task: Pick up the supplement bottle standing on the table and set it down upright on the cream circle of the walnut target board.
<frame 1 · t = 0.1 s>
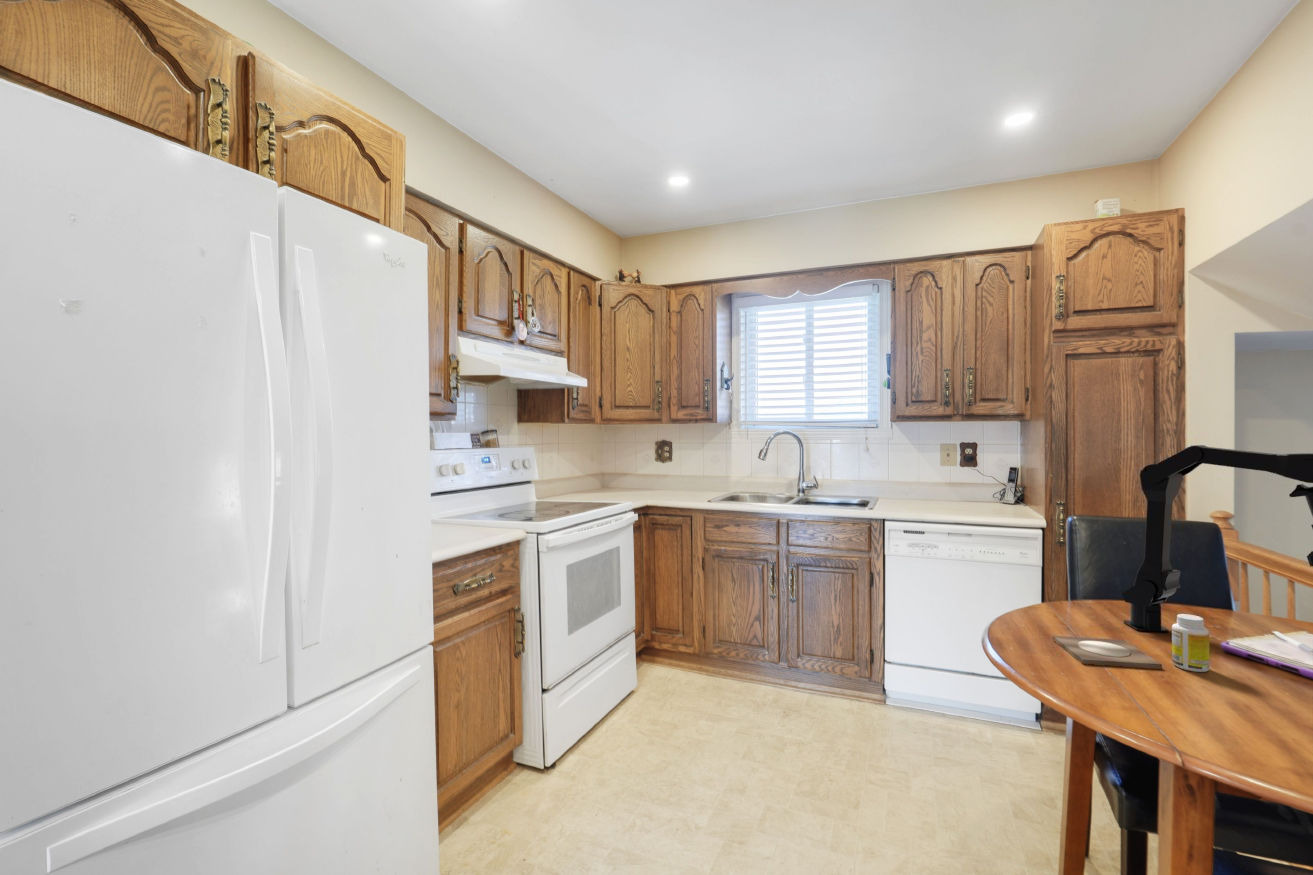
supplement bottle: (1190, 668, 118), on the table
target board: (1103, 653, 125), on the table
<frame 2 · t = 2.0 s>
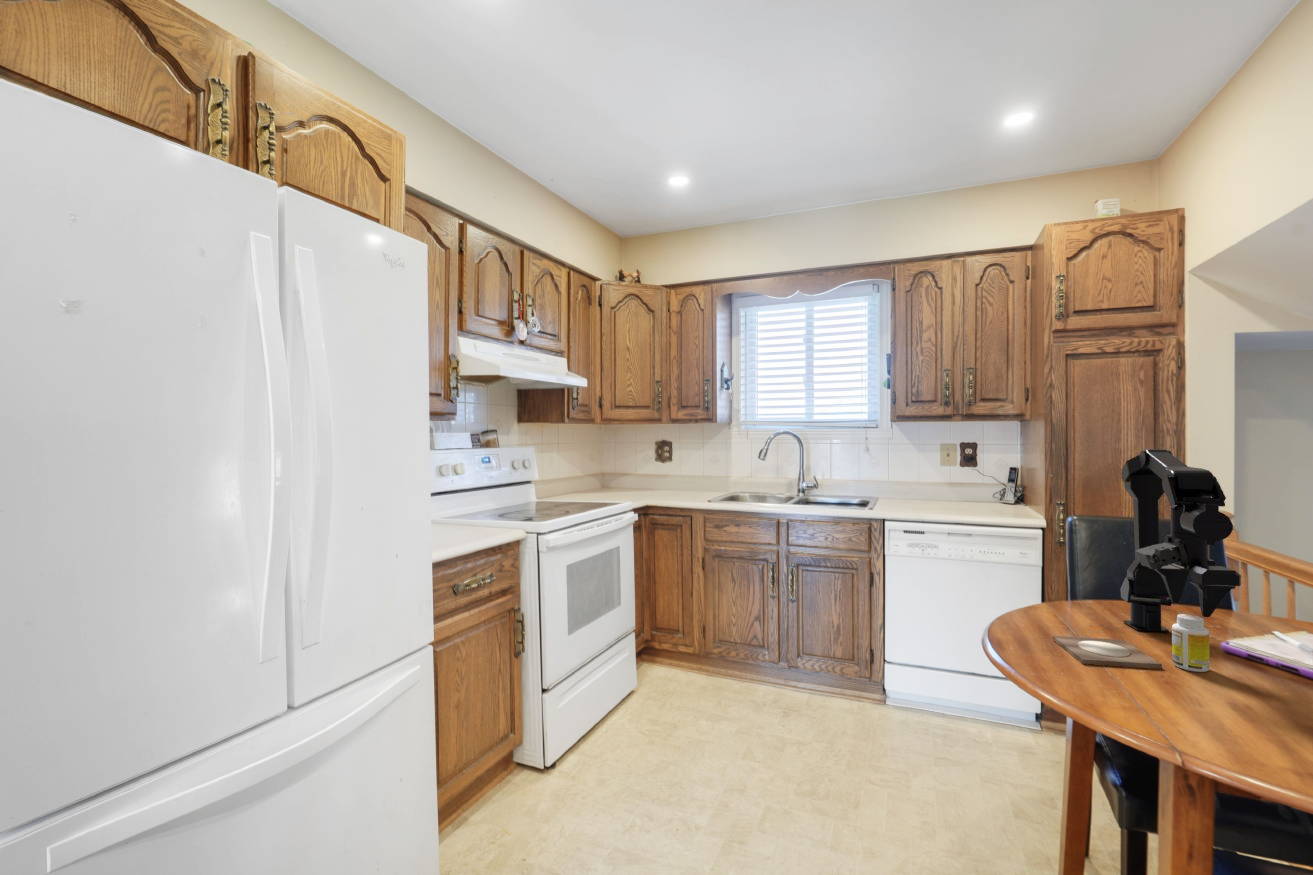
hand: (1190, 609, 117), 12 cm above the table, tool pointing down, fingers open, 9 cm apart
nothing on the table moved.
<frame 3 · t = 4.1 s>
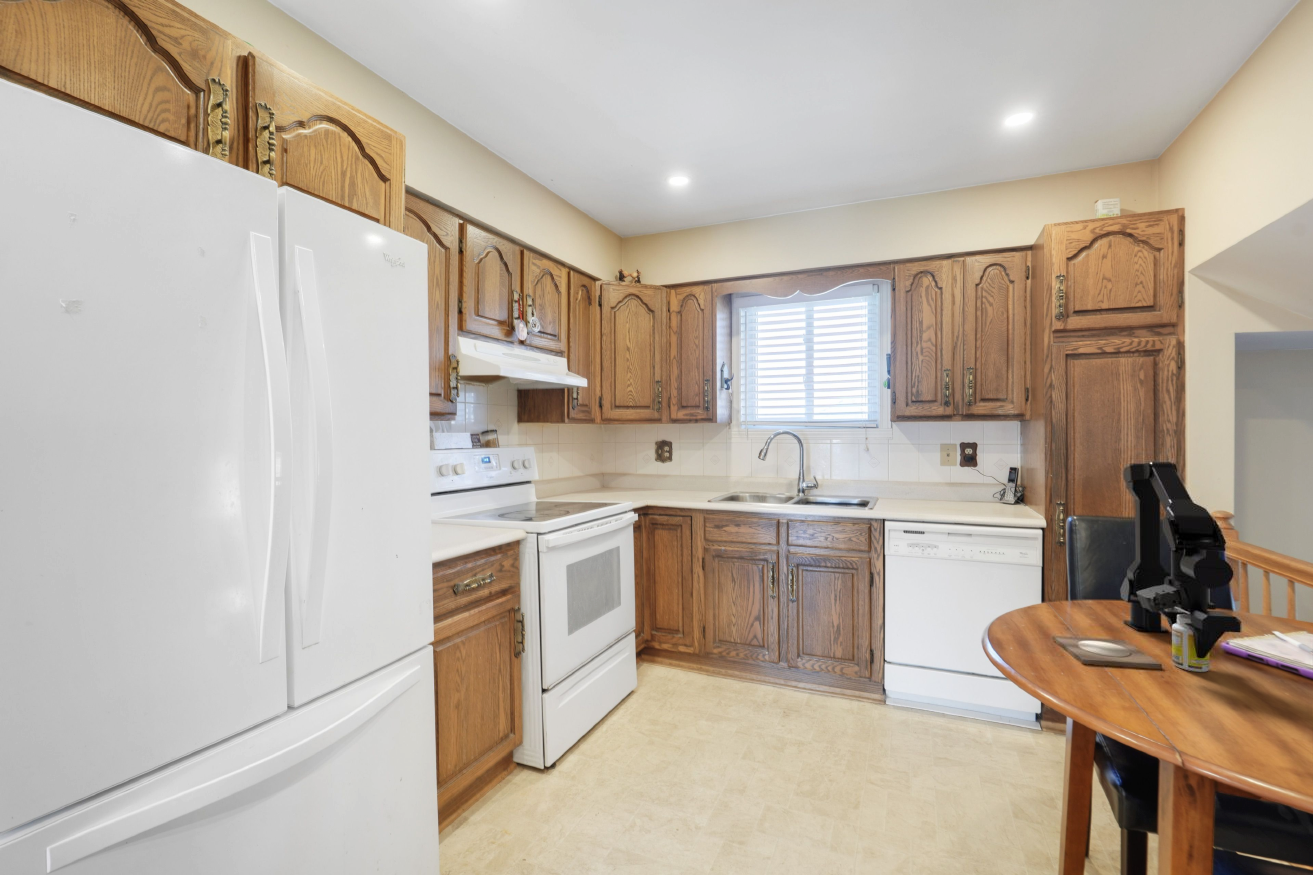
hand: (1190, 652, 117), 3 cm above the table, tool pointing down, fingers closed on supplement bottle, 6 cm apart
supplement bottle: (1190, 668, 118), on the table, touching gripper
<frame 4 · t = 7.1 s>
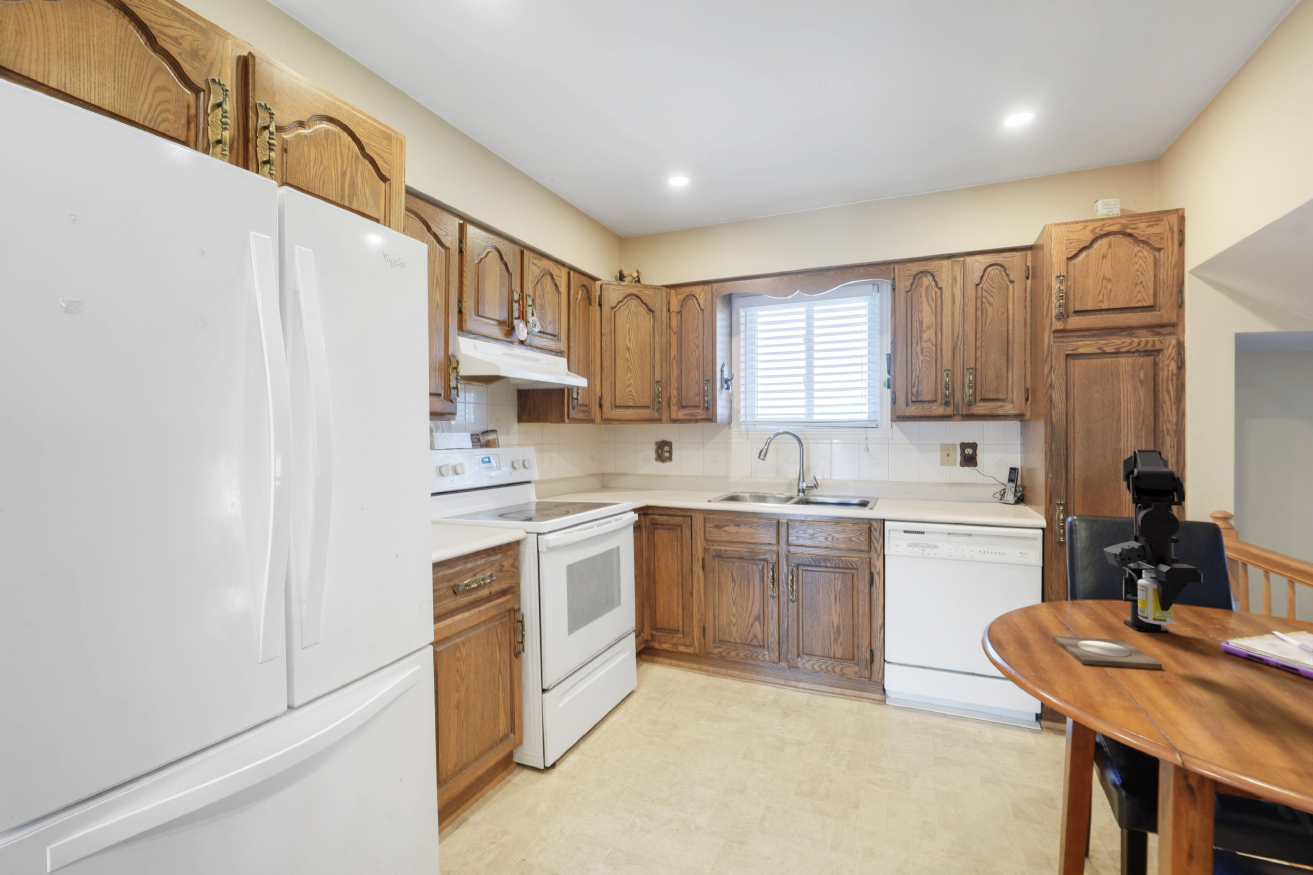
hand: (1155, 606, 120), 11 cm above the table, tool pointing down, fingers closed on supplement bottle, 6 cm apart
supplement bottle: (1155, 621, 120), point 8 cm above the table, touching gripper
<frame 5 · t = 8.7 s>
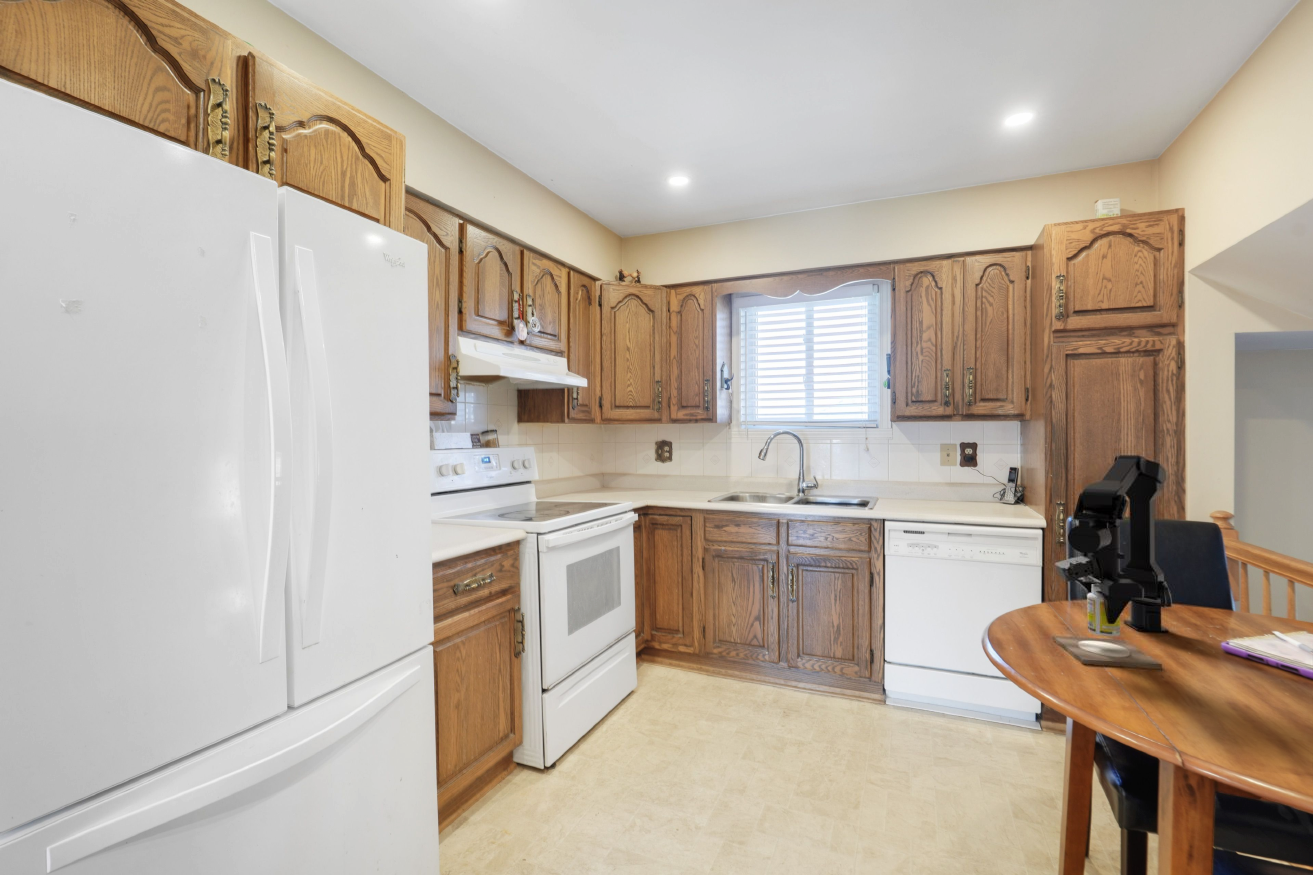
hand: (1103, 619, 125), 7 cm above the table, tool pointing down, fingers closed on supplement bottle, 6 cm apart
supplement bottle: (1103, 634, 125), point 4 cm above the table, touching gripper
when the fingers open (5 cm above the table, at t = 10.0 s): supplement bottle drops 1 cm, resting on target board.
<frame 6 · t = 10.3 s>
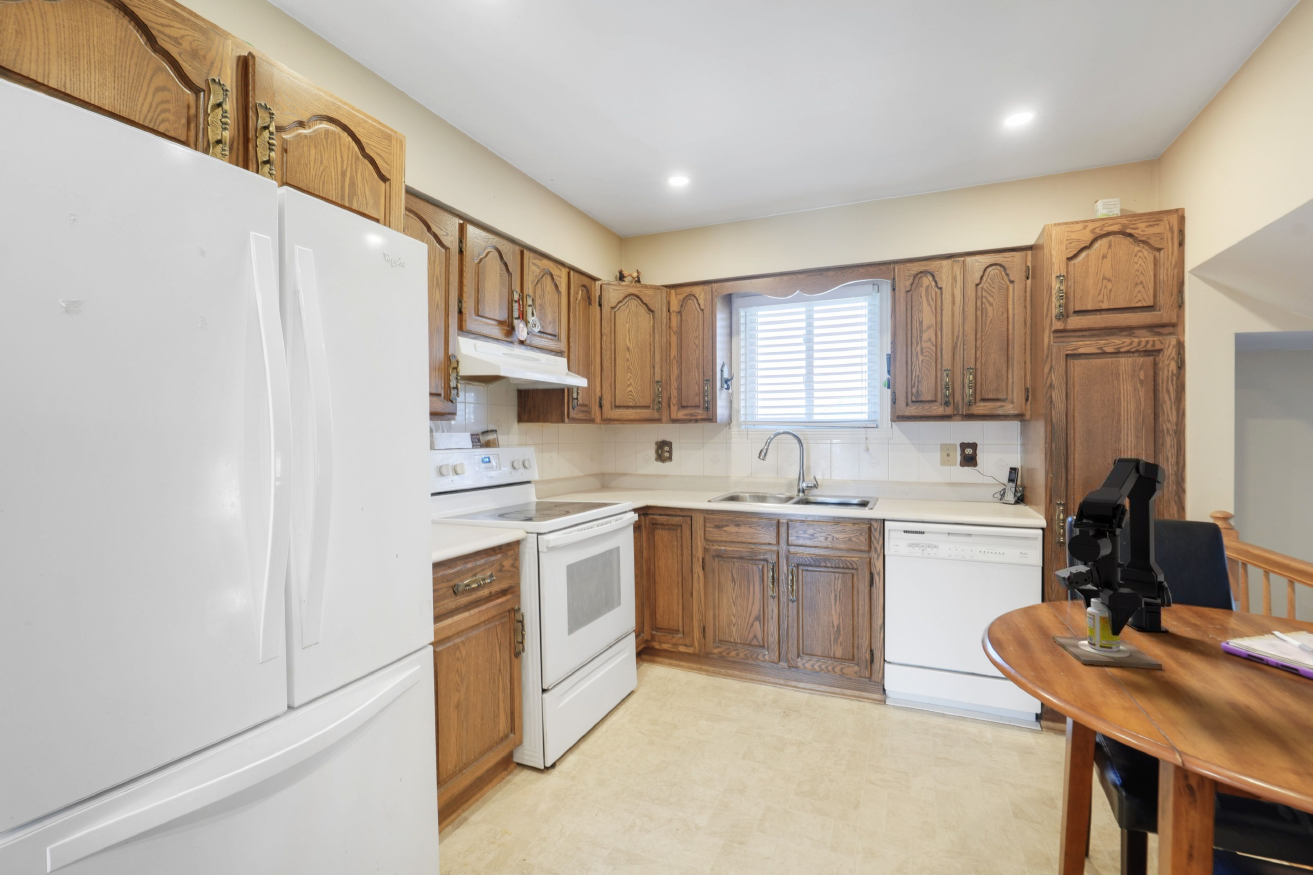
hand: (1103, 628, 125), 5 cm above the table, tool pointing down, fingers open, 9 cm apart
supplement bottle: (1103, 648, 125), point 1 cm above the table, touching target board
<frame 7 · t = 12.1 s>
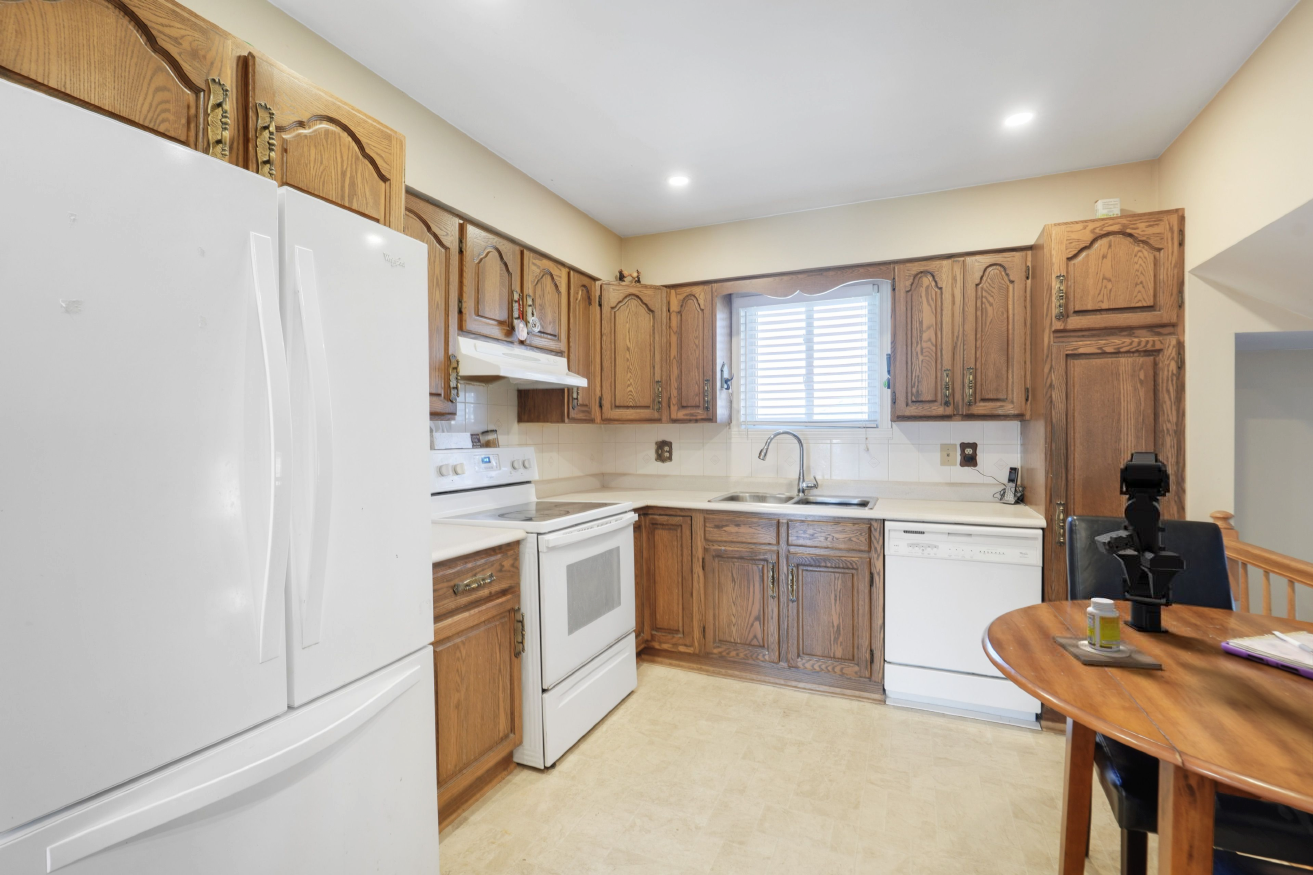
hand: (1143, 591, 127), 13 cm above the table, tool pointing down, fingers open, 9 cm apart
nothing on the table moved.
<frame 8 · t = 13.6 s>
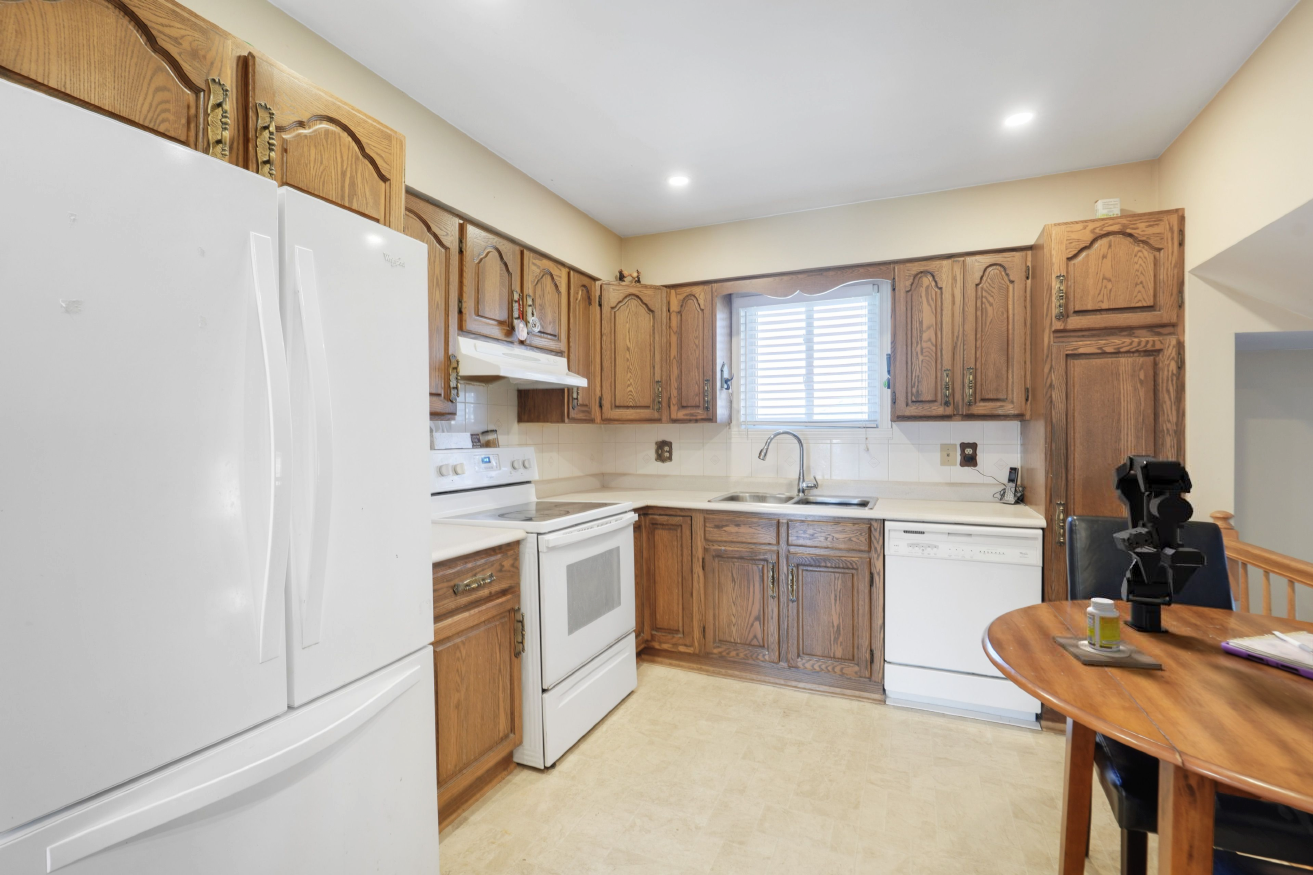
hand: (1161, 588, 128), 13 cm above the table, tool pointing down, fingers open, 9 cm apart
nothing on the table moved.
at the end: supplement bottle inside the target area on the target board (0.1 cm from its centre), point 1.0 cm above the target board's base; supplement bottle tilted 1°; the gripper is holding nothing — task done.
